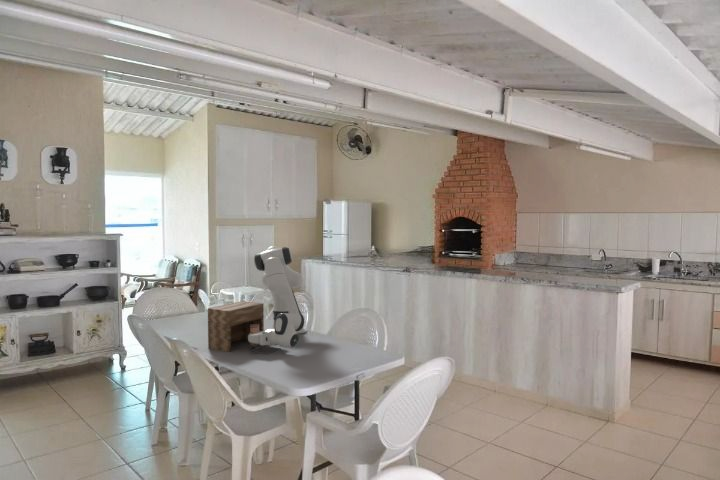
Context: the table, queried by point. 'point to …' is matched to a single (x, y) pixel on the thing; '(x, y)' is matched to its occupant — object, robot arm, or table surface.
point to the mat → (265, 349)
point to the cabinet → (232, 323)
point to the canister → (254, 331)
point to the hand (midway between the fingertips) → (253, 333)
